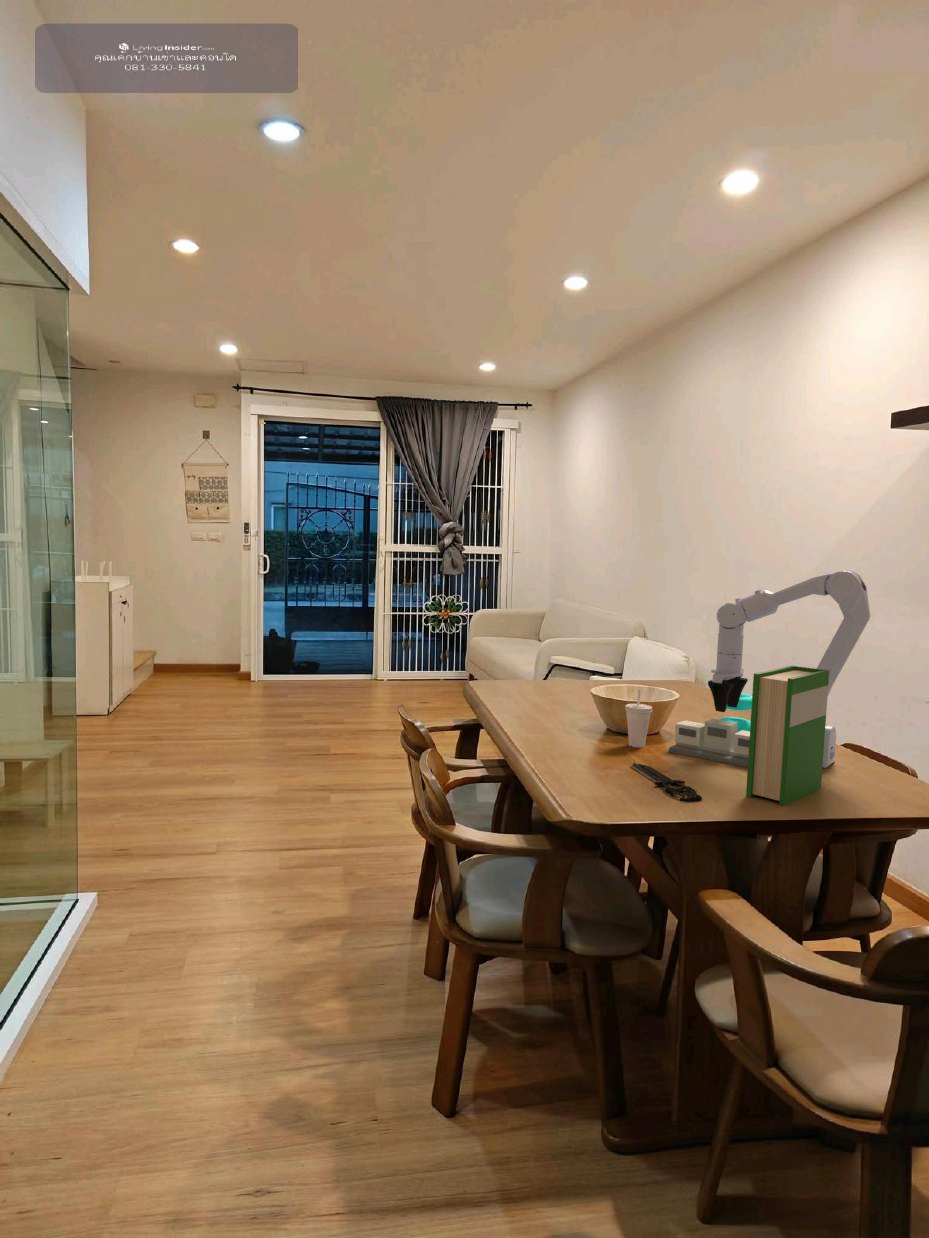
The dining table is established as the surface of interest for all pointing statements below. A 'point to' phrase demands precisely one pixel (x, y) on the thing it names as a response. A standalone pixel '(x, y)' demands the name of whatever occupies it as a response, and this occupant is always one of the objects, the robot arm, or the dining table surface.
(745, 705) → the donuts
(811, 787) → the hardback book
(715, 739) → the block
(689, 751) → the plate
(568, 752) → the dining table surface
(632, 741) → the smoothie
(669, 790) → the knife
